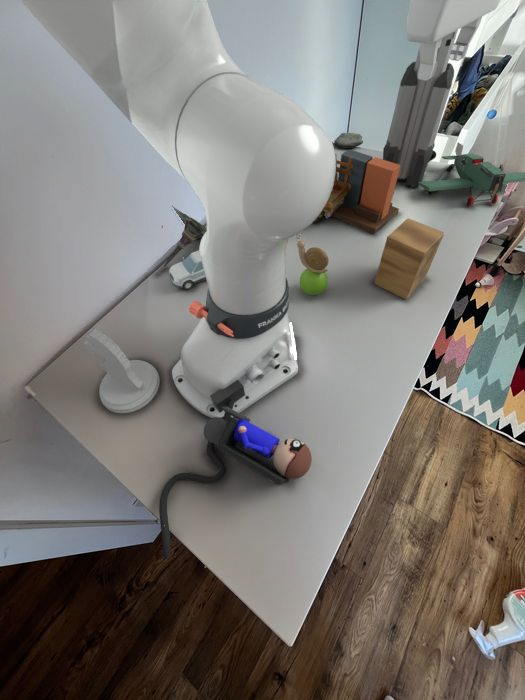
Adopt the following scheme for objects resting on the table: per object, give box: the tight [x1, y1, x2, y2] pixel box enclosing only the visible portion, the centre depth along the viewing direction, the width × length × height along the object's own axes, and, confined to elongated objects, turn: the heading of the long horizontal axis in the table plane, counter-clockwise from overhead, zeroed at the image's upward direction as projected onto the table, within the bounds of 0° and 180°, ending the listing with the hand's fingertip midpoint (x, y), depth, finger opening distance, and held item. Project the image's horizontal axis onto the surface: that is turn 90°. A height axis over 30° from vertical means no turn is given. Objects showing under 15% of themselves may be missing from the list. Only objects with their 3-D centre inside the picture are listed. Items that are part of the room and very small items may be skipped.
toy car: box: [169, 249, 206, 290], centre depth 70 cm, size 6×13×5 cm, turn 119°
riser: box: [373, 217, 445, 300], centre depth 63 cm, size 7×7×11 cm
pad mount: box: [330, 148, 400, 235], centre depth 77 cm, size 10×14×12 cm
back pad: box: [360, 156, 401, 220], centre depth 75 cm, size 3×6×11 cm, turn 47°
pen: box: [427, 163, 455, 195], centre depth 88 cm, size 1×16×1 cm, turn 142°
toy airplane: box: [418, 142, 525, 208], centre depth 82 cm, size 22×25×11 cm
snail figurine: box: [296, 233, 330, 296], centre depth 63 cm, size 5×6×12 cm
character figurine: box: [203, 407, 313, 486], centre depth 46 cm, size 8×7×15 cm
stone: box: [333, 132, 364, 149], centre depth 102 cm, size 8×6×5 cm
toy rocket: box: [382, 29, 459, 189], centre depth 75 cm, size 12×9×35 cm
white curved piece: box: [83, 328, 161, 414], centre depth 51 cm, size 10×10×15 cm
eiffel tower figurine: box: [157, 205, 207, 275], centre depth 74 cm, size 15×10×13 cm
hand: (441, 68), depth 49 cm, fingers open, 8 cm apart
